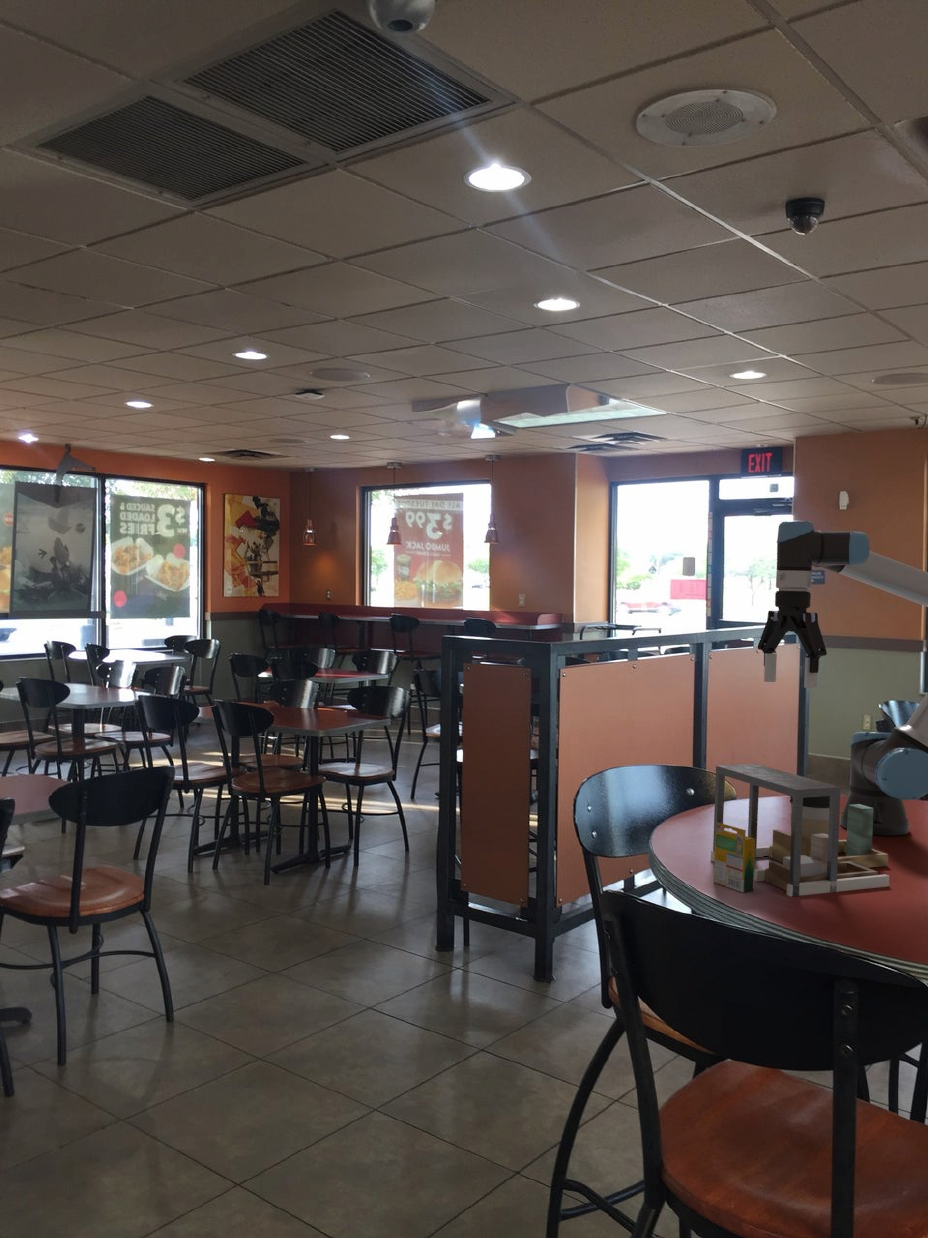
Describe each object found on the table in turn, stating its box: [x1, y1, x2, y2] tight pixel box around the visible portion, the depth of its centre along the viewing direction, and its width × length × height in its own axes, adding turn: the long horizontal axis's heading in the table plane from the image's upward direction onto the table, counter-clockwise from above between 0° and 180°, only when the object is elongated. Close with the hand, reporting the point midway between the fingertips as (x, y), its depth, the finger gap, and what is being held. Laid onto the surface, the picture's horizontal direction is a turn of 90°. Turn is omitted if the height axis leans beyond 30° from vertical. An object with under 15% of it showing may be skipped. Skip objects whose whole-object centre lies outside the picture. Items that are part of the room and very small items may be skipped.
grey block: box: [782, 855, 823, 877], centre depth 186 cm, size 5×5×5 cm
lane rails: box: [710, 845, 890, 897], centre depth 194 cm, size 23×24×2 cm
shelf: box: [712, 763, 842, 897], centre depth 192 cm, size 10×24×20 cm, turn 21°
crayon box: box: [713, 822, 755, 894], centre depth 184 cm, size 7×3×12 cm, turn 33°
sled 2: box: [765, 833, 879, 892], centre depth 187 cm, size 20×8×9 cm, turn 111°
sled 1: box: [768, 804, 889, 869], centre depth 203 cm, size 20×12×11 cm, turn 111°
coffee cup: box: [789, 796, 830, 841], centre depth 201 cm, size 9×9×15 cm
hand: (789, 684), depth 221 cm, fingers open, 13 cm apart
